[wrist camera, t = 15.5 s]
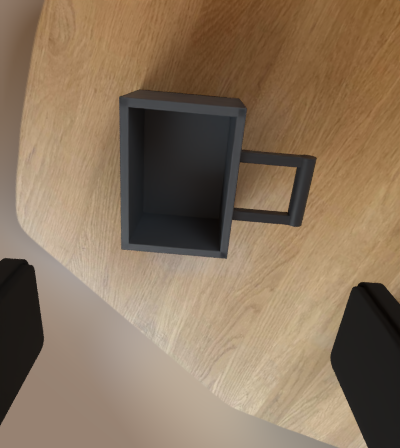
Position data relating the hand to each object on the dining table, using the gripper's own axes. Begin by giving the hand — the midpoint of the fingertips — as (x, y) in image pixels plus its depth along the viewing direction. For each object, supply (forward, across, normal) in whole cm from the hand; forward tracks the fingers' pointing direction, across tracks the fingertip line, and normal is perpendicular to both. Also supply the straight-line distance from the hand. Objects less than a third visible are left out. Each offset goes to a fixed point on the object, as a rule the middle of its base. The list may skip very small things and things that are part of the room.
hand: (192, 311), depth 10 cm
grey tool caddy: (+32, -3, +4) cm, 32 cm away
